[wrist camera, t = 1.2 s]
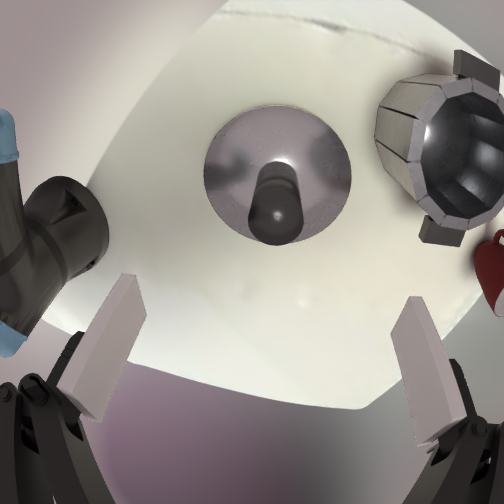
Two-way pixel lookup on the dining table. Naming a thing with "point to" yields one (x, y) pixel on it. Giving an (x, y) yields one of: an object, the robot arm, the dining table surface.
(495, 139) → the pot
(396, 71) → the dining table surface
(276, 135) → the lid
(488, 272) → the mug
